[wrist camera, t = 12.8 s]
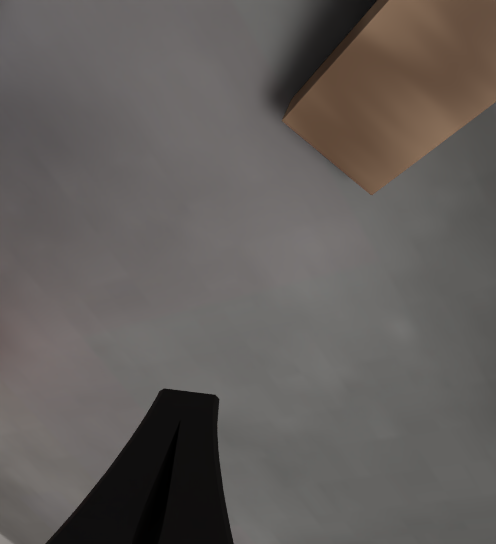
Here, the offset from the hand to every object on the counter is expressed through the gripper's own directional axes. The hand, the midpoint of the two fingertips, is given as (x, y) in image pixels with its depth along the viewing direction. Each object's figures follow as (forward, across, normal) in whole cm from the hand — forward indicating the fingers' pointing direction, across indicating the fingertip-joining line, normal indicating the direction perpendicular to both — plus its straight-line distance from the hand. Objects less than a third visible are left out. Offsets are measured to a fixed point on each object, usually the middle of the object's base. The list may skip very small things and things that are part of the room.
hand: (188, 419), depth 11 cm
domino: (+8, -3, -4) cm, 10 cm away
